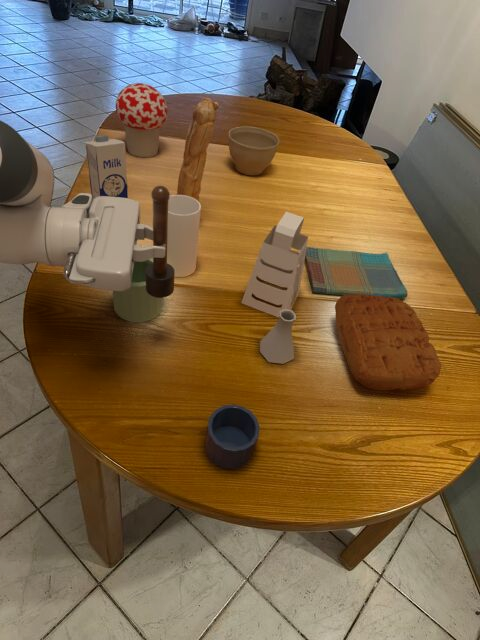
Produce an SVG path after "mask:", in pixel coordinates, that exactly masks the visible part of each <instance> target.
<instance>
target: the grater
mask: <svg viewBox="0 0 480 640" xmlns="http://www.w3.org/2000/svg"><path fill="white" fill-rule="evenodd" d="M304 220H305V217H304V216H301V215H298V214H294V213H292V212H290V211H285V213H284V214H283V215H282V217H281V219H280V220H279V222H278V223H277V224H276V225H274V226H273V227H272V229H271V230H270V231H269V233H268V234H267V236H265V238H264V240H263V242H262V244H261V247H260V249H259V252H258V255H257V257H256V259H255V260H256V261H255V264H254V265H253V269H252V272H251V275H250V277H249V280H248V283H247V284H246V288H245V291H244V294H243V297H242V299H241V302H240V304H241V305H245V306H247V307H250V308H253V309H255V310H258V311H260V312H263V313H266V314H268V315H270V316H274V317H276V318H279V311H281V310H284V309H288V310H292V308H293V306H294V304H295V303H296V300H297V298H298V296H299V294H300V291H301V290H300V289H301V283H302V278H303V273H304V265H305V254H306V248H307V247H308V241H309V236H308V235H305V234H302V233H301V231H302V227H303V224H304ZM291 248H292V249H294V250H292V249H291ZM295 250H297V251H295ZM258 278H259V280H262V281H265V282H267V284H266V283H263V282H262V281H259V280H258ZM268 283H270V284H273V285H275V286H277V287H275V286H272V285H269V284H268ZM278 287H281V288H286V289H281V288H278ZM253 296H254V297H255V298H254V297H253ZM256 298H258V299H261V300H263V301H265V302H263V301H261V300H258V299H256ZM266 302H267V303H266ZM268 303H271V304H273V305H271V304H268ZM274 305H276V306H280V305H281V307H276V306H274Z"/></svg>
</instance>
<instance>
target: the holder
mask: <svg viewBox="0 0 480 640" xmlns="http://www.w3.org/2000/svg"><path fill="white" fill-rule="evenodd" d="M260 431H261V427H260V424H259V421H258V418H257V417H256V416H255V414H254V413H253V412H252V411H251V410H249V409H248V408H246V407H245V406H243V405H238V404H224V405H222V406H220V407H218V408H216V409H215V410H214V411H213V412H212V413H211V415H210V416H209V418H208V422H207V426H206V433H205V439H204V451H205V454H206V456H207V458H208V460H210V462H211V463H212V464H214V465H215V466H217V467H218V468H221V469H225V470H237V469H239V468H242V467H244V466H245V465H247V464H248V462H249V461H250V460H251V459H252V457H253V455H254V451H255V448H256V445H257V443H258V440H259V437H260Z"/></svg>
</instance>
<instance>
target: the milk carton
mask: <svg viewBox="0 0 480 640" xmlns="http://www.w3.org/2000/svg"><path fill="white" fill-rule="evenodd" d="M94 138H95V140H91V141H84V144H85V151H86V160H87V169H88V176H89V186H90V194H91V195H92V198H93V199H94V198H96V197H99V196H110V197H121V198H129V194H128V176H127V175H128V173H127V156H126V141H125V142H124V141H123V140H120V139H117V138H109V136H108V135H106V134H105V135H104V134H102V135H95V136H94Z"/></svg>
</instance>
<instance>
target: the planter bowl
mask: <svg viewBox="0 0 480 640" xmlns="http://www.w3.org/2000/svg"><path fill="white" fill-rule="evenodd" d="M279 145H280V139H279V137H278V136H277V135H276V134H275V133H274V132H272V131H269V130H267V129H264V128H261V127H256V126H237V127H233V128H231V129H230V130H229V131H228V149H229V150H228V151H229V154H230V157H231V159H232V161H233V164H234V168H235V170H236V171H237V172H238V173H240V174H243V175H245V176H259V175H261V174H263V173H264V170H265V169H266V168H268V166H269V165H270V164H271V162H273V160H274V158H275V157H276V153H277V150H278V147H279Z"/></svg>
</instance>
